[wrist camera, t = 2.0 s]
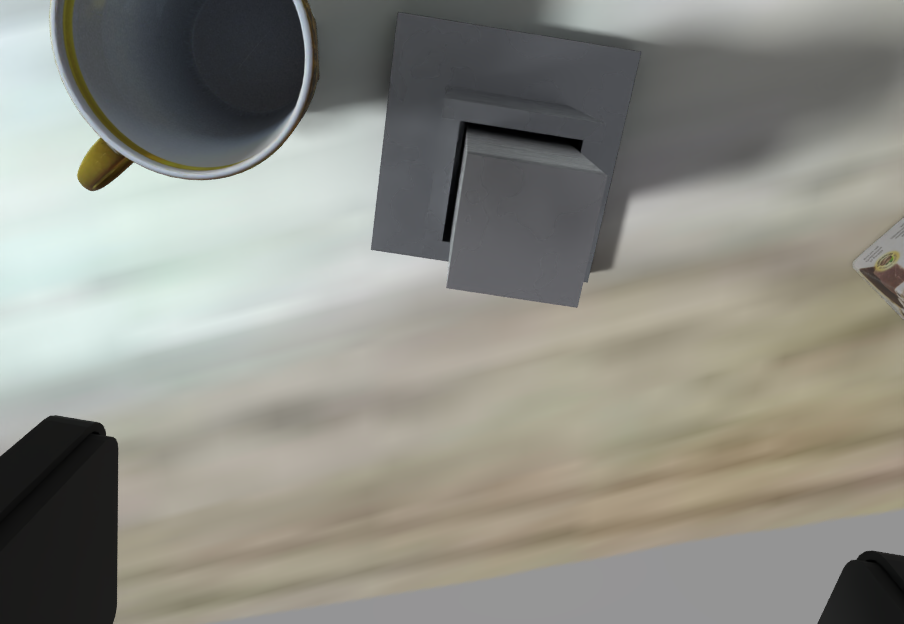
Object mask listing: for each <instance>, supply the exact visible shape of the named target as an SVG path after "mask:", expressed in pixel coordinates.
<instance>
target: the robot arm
mask: <svg viewBox="0 0 904 624" xmlns="http://www.w3.org/2000/svg"><path fill="white" fill-rule="evenodd" d="M117 532H118V443H117V441H116V439H115V438H114V437H109V436H106V431H105V429H104V426H103V425H102V424H101V423H98V422H92V421H86V420H80V419H74V418H68V417H62V416H56V415H55V416H49V417H47V418H46V419H44V420H43V421H42V422H40V423H39V424H38V425H37V426H36V427H35V428H33V429H32V430H31V431H30V432H29V433H27V434H26V435H25V436H24V437H23V438H22V439H20V440H19V441H18V442H17V443H16V444H15V445H13V446H12V447H11V448H10V449H9V450H7V451H6V452H5V453H4V454H3V455H2V456H0V624H113V621H114V618H115V614H116V608H117ZM818 624H904V556H901V555H895V554H889V553H883V552H877V551H866V552H864V553H862V554H861V555H859V557H858V558H857V560H851V561H850V562H848V563H847V564H846V565H845V567H844V568H843V571H842V573H841V575H840V577H839V579H838V581H837V583H836V585H835V588H834V590H833V592H832V594H831V596H830V598H829V600H828V603H827V605H826V607H825V609H824V611H823V613H822V615H821V617H820V619H819V621H818Z"/></svg>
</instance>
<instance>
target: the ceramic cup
mask: <svg viewBox="0 0 904 624" xmlns="http://www.w3.org/2000/svg"><path fill="white" fill-rule="evenodd" d="M49 18H50V36H51V43H52V49H53V53H54V58H55V62H56V65H57V68H58V71H59V74H60V77H61V79H62V82H63V84H64V86H65V88H66V90H67V92H68V94H69V96H70V98H71V100H72V101H73V103H74V105H75V106H76V108H77V109H78V111H79V112H80V114H81V115H82V117H83V118H84V119H85V120H86V121H87V123H88V124H89V125H90V126H91V127H92V128H93V130H94V131H95V132H96V133H97V134H98V135H99V136H100V138H99V139H98V140H97V141H96V142H95V144H94V145H93V146H92V147H91V148H90V150H89V151H88V152H87V154H86V155H85V157H84V159H83V161H82V163H81V165H80V167H79V170H78V174H77V177H78V180H79V182H80V183H81V184H82V186H83V187H85V188H86V189H88V190H90V191H96V190H99V189H101V188H103V187H105V186H106V185H108V184H109V183H110V182H112V181H113V180H114V179H115V178H117V177H118V176H119V175H120V174H121V173H122V172H123V171H125V170H126V169H127V168H128V167H129V166H130V165H131V164H132V163H134V162H135V163H137V164H139V165H141V166H143V167H145V168H147V169H149V170H152V171H154V172H157V173H160V174H163V175H167V176H170V177H175V178H181V179H188V180H212V179H220V178H225V177H229V176H233V175H236V174H239V173H242V172H244V171H247V170H249V169H251V168H253V167H255V166H256V165H258V164H260V163H261V162H263V161H264V160H266V159H267V158H269V157H270V156H271V155H272V154H274V153H275V152H276V151H277V150H278V149H279V148H280V147H281V146H282V145H283V143H284V142H285V141H286V140H287V139H288V137H289V136H290V135H291V134H292V132H293V131H294V129H295V128H296V126H297V125H298V124H299V122H300V121H301V119H302V118H303V116H304V114H305V113H306V111H307V109H308V107H309V104H310V102H311V100H312V98H313V95H314V92H315V89H316V84H317V82H318V80H319V57H318V42H317V28H316V21H315V19H314V17H313V15H312V12H311V9H310V6H309V3H308V1H307V0H51V2H50V15H49Z"/></svg>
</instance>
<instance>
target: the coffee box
mask: <svg viewBox="0 0 904 624" xmlns="http://www.w3.org/2000/svg"><path fill="white" fill-rule="evenodd" d="M853 268H854V269H855V270H856V271H857V272H858V274H859V275H860V276H861V277H862V278H863V279H864V280H865V281H866V282H867V283H868V284H869V285H870V286H871V287H872V288H873V289H874V290H875V291H876V292H877V293H878V294H879V295H880V296H881V297H882V298H883V299H884V300H885V301H886V302H887V303H888V304H889V305H890V306H891V307H892V308H893V309H894V310H895V311H896V312H897V313H898V314H899V315H900V317H901V318H902V319H903V320H904V217H903V218H902V219H901V220H900V221H899V222H898V223H896V224H895V225H894V226H893V227H892V228H891V229H890V230H888V231H887V232H886V233H885V234H884V235H883V236H881V237H880V238H879V239H878V240H877V241H876V242H874V243H873V244H872V245H871V246H870V247H869V248H867V249H866V250H865V251H864V252H863V253H862V254H861V255H860V256H858V257H857V258H856V259H855V260H854V262H853Z"/></svg>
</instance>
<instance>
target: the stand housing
mask: <svg viewBox="0 0 904 624" xmlns="http://www.w3.org/2000/svg"><path fill="white" fill-rule="evenodd" d="M640 55H641V52H640V51H633V50H627V49H621V48H615V47H609V46H603V45H597V44H591V43H585V42H578V41H572V40H566V39H560V38H554V37H548V36H542V35H536V34H530V33H523V32H517V31H511V30H505V29H499V28H493V27H487V26H481V25H475V24H468V23H462V22H456V21H450V20H444V19H438V18H432V17H426V16H419V15H413V14H407V13H401V12H398V16H397V25H396V34H395V42H394V51H393V60H392V69H391V78H390V87H389V95H388V104H387V113H386V122H385V131H384V139H383V148H382V157H381V166H380V175H379V184H378V192H377V201H376V210H375V219H374V228H373V237H372V245H371V250H376V251H382V252H389V253H396V254H402V255H409V256H415V257H422V258H429V259H435V260H442V261H449V251H450V239H451V227H452V215H453V204H454V192H455V184H456V178H457V171H458V165H459V158H460V152H461V145H462V139H463V132H464V126H465V121H466V122H472V123H478V124H484V125H491V126H497V127H503V128H510V129H516V130H522V131H529V132H535V133H541V134H548V135H554V136H560V137H562V138H563V139H565V140H566V141H567V142H568V143H569V144H571V145H572V146H573V147H574V148H575V149H577V150H578V151H579V152H580V153H581V154H582V155H584V156H585V157H586V158H587V159H588V160H590V161H591V162H592V163H593V164H594V165H595V166H597V167H598V168H599V169H600V170H601V171H603V172H604V173H605V174H606V175H607V176H608V177H607V181H606V186H605V190H604V194H603V199H602V203H601V207H600V212H599V216H598V220H597V225H596V229H595V233H594V238H593V242H592V246H591V251H590V255H589V259H588V264H587V268H586V272H585V277H584V281H583V282H587V283H588V278H589V274H590V270H591V265H592V261H593V257H594V253H595V248H596V244H597V240H598V235H599V231H600V227H601V222H602V218H603V214H604V210H605V205H606V201H607V197H608V192H609V188H610V184H611V180H612V175H613V171H614V167H615V162H616V158H617V154H618V149H619V145H620V141H621V137H622V132H623V128H624V124H625V119H626V115H627V111H628V107H629V102H630V98H631V94H632V89H633V85H634V81H635V76H636V72H637V68H638V64H639V59H640Z"/></svg>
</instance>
